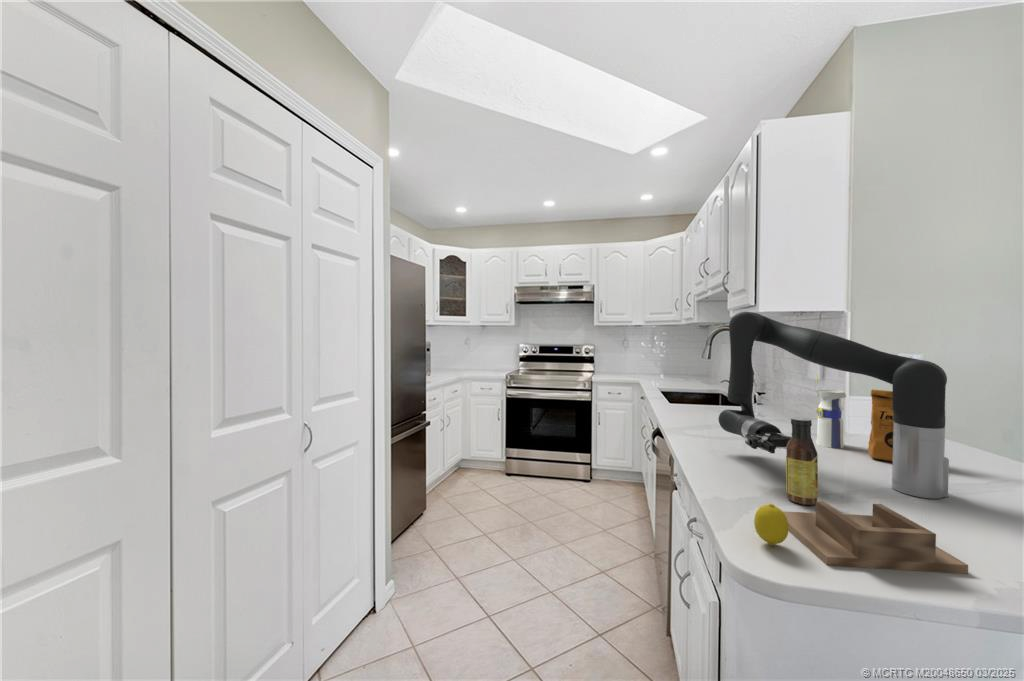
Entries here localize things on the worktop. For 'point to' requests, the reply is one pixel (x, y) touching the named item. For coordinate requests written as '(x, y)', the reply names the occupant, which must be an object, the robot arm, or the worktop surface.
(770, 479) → the worktop surface
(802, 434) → the sauce bottle
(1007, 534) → the worktop surface
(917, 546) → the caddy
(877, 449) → the coffee package
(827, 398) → the white and blue bottle
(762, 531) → the lemon
